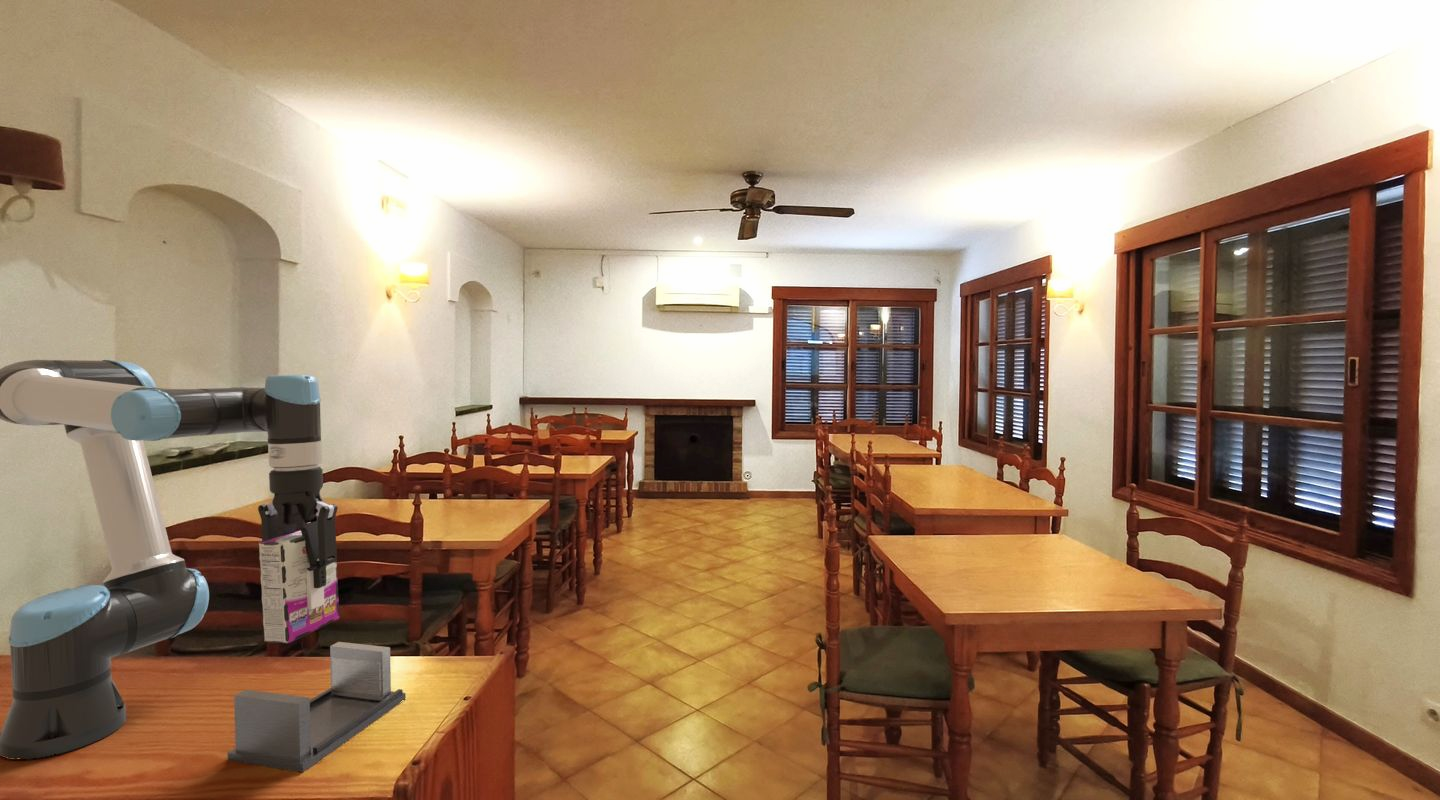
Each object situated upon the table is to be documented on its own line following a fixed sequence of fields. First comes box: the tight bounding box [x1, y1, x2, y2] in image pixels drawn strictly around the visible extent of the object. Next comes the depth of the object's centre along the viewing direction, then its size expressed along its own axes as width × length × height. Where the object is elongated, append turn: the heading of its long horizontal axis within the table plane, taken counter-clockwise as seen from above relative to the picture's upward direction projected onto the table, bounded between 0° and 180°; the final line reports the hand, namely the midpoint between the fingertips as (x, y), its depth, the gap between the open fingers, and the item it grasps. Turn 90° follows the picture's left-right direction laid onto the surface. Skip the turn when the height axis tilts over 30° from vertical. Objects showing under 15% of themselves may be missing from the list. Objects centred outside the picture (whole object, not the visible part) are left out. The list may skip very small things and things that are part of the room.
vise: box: [226, 687, 406, 773], centre depth 113 cm, size 14×23×10 cm, turn 168°
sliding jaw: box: [329, 641, 392, 701], centre depth 124 cm, size 11×8×9 cm
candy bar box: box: [258, 530, 340, 644], centre depth 111 cm, size 11×5×16 cm, turn 169°
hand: (301, 605), depth 111 cm, fingers closed on candy bar box, 5 cm apart
